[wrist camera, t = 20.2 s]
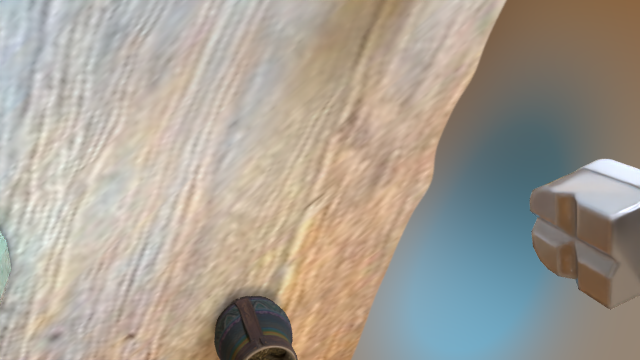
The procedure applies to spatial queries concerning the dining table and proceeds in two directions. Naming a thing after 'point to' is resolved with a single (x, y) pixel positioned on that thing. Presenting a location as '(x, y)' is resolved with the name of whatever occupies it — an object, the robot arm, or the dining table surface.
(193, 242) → the dining table surface
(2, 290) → the green pet bowl
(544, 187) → the robot arm
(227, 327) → the mate gourd
